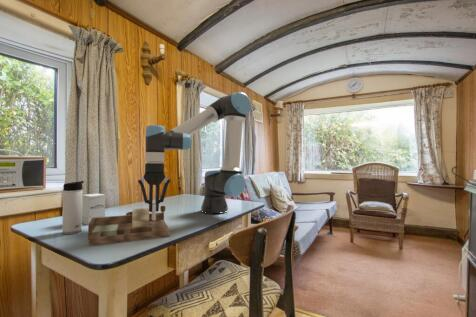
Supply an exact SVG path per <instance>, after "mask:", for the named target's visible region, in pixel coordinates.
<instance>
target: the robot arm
mask: <svg viewBox="0 0 476 317" xmlns="http://www.w3.org/2000/svg"><path fill="white" fill-rule="evenodd" d="M251 111H252V102H251V99H250V98H249V96H248V95H247V94H246V93H245V92H242V91H239V92H233V93H231V94H228V95H225V96H221V97H220V98H218V99H216V100H215V101H214V102H212V103H211V104H209V105H208V106H206V107H205V109H204V110H203V111H201V112H200V113H197V114H196V115H194V116H192V117H191V118H189V119H187V120H185V121H184V122H182V123H180V124H179V125H176V126H175V127H173V128H172V129H171V130H167V131H166V128H165V126H164V125H157V124H149V125H147V126H146V128H145V136H144V137H145V151H144V152H145V154H144V155H145V156H144V157H145V158H144V162H146V163H144V174H143V177H141V178H140V179H138V180H137V183H138V184H139V186H140V188H141V192H142V197H143V200H144V203H145V204H148V209H149V213H152V220H156V213H159V209H160V204H161V203H163V202H164V200H165V197H166V193H167V189H168V186H169V184H170V183H171V179H170V178H168V177H166V175H165V164H164V162H165V152H166V151H171V150H172V151H173V150H179V151H187V150H189V149H191V147H192V142H193V141H192V137H191V136H193V135H194V134H196V133H197V132H199V131H201V130H202V129H204V128H205V127H207V126H209V125H210V124H211V123H217V122H218V121H220V120H222V119H223V120H225V121H226V126H225V137H224V138H225V139H224V141H225V142H224V151H223V152H224V153H223V163H222V166H221V168H220V169H216V170H208V171H206V172H205V173H204V178H203V179H204V198H203V201H202V203H201V206H200V212H201V211H203V212H206V213H220V212H225V211H227V210H228V211H229V206H228V204H227V200H226V196H227V197H235V198H236V197H239V196H241V194H242V193H243V192H244V191H245V189H246V186H247V185H246V184H247V181H246V178H245V177H244V175H243V170H242V169H241V168H240V167H241V166H240V165H241V153H242V152H241V151H242V150H241V148H242V137H243V124H244V122H245V121H246V119H247V115H248V114H249V112H251ZM145 182H146V183H147V184H148V187H149V188H148V196H147V191H146V188H145V185H144V184H145ZM162 182H163V187H162V191H161V194H160V185H161V184H162ZM154 186H155V195H154V194H153V193H154ZM153 196H155V201H154V199H153ZM153 202H155V203H153ZM206 213H205V214H206Z"/></svg>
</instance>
